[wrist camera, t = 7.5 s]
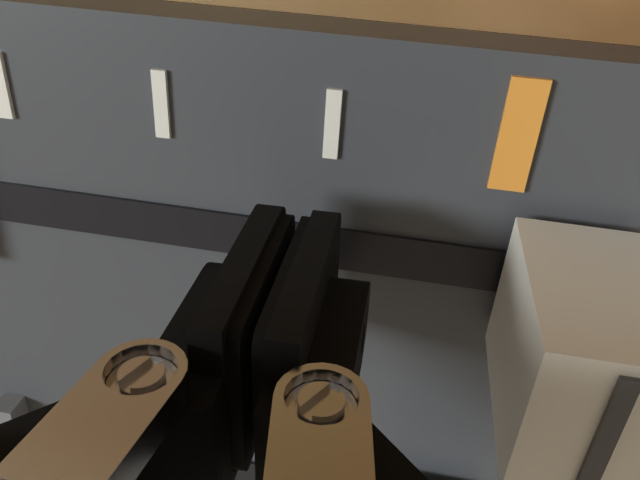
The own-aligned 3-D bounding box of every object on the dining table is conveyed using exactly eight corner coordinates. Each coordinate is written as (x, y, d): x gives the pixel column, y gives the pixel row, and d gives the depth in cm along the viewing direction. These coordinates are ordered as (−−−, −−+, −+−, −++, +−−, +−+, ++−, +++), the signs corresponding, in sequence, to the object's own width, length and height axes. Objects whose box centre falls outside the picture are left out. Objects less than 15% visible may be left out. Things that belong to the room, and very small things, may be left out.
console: (-98, -25, 14) (-185, -10, 12) (889, 70, 11) (979, 109, 9) (34, 460, 22) (-5, 514, 20) (619, 573, 19) (637, 646, 18)
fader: (515, 216, 12) (545, 356, 8) (645, 233, 12) (731, 385, 8) (485, 336, 13) (499, 496, 10) (598, 354, 13) (654, 524, 10)
